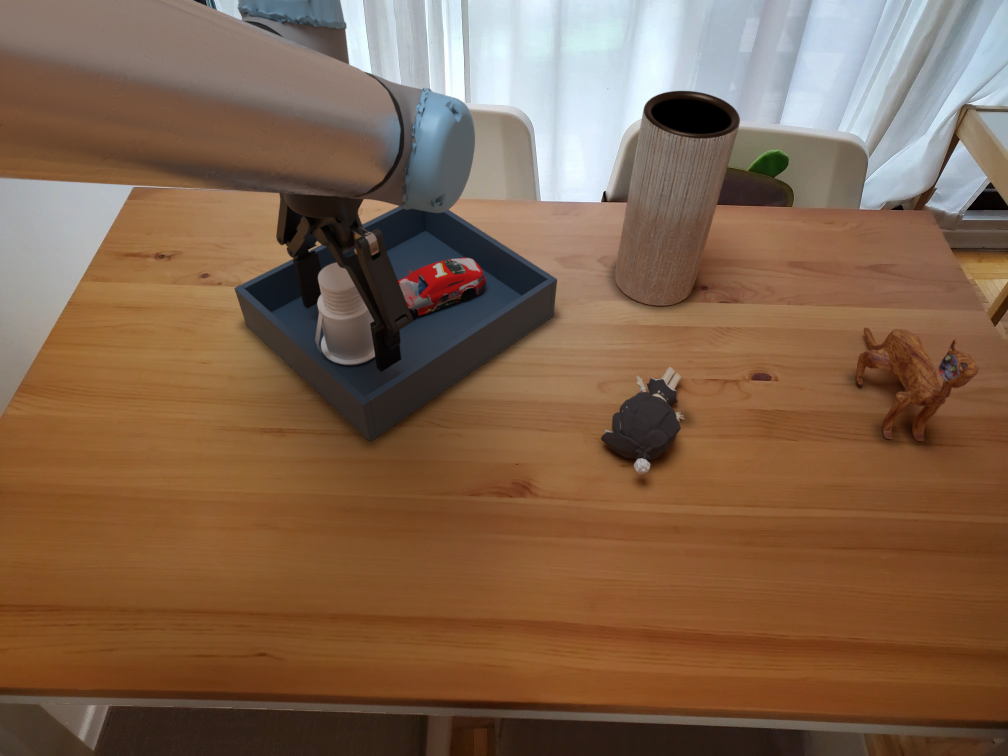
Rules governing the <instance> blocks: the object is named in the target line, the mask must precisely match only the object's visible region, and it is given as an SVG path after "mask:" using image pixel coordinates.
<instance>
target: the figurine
mask: <svg viewBox="0 0 1008 756" xmlns="http://www.w3.org/2000/svg"><path fill="white" fill-rule="evenodd" d="M634 378H635V379H636V381H635V382H634V383H635V384H636V385H637V386H638V387H639V388H640V392H637V393H636V394H635V395H633V396H632V397H630V398H627V399H625V400H624V402H623V403H622V404H621V405H620V406H619V411H617V412H615V413H613V415H612V419H611V422H612V423H611V430H612V431H611V430H608V429H605V430H604V434H602V436H601V437H600V439H601V441H602V442H603V443H604V444H605V445H606V446H607V447H609V448H610V449H611V450H612V451H614V453H616V454H618V455H619V456H620V457H623V458H625V459H631V460H636V461H634V463H633V468H634V470H635V472H636V473H637V474H640V476H641V475H645V474H647V473H648V472H649V471H650V470H651V469H650V468H651V463H650V462H649V461H653V460H656V459H658V458H659V457H660V456H661V454H663V453H665V452H667V451H668V450H669V449H670V448H671V445H672V443H674V442H675V440H676V438H677V434H678V433H679V432H680V431H681V429H682V428H681V424H680V421H681V420H683V421H684V420H685V418H684V415H685V414H681V413H682V412H681V411H678V412H676V411H675V409H674V408H673V407H672V405H674V404H677V403H679V400H678V398H677V396H678V391H677V389H676V388H677V386H678V385H679V382H680V381H681V379H682V376H681V375H680V374H679V373H678V372H676V370H675V369H674V368H673V367H671V366H669V367H668V368H666V369H665V371H664V372H663V375H662V376H661V377H660V378H657V379H656V378H654V377H650V379H649V382H647V383H646V386H647V388H646V387H645V384H644V381H643V378H642V377H640V376H639V375H637V376H636V375H635V377H634ZM647 390H648V391H647ZM680 419H681V420H680Z"/></svg>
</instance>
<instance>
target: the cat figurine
mask: <svg viewBox="0 0 1008 756" xmlns="http://www.w3.org/2000/svg"><path fill="white" fill-rule="evenodd" d="M863 334H864V337H865V339H866V341H867V344H868V347H869V348H870V349H868V350H865V351H864V352H862V353H860V354H859V355H858V358H857V364H856V374H855V375H856V376H855V380H856V382H857V384H858V385H859V386H861V387H862V386H863V385H864V381H863V377H864V374H865V371H866V367H867V368H869V369H870V370H872V369H874V370H875V369H884V370H887V371H888V372H891V373H892V374H894V376H896V378H897V379H898V380H899V381H900V383H901V385H902V386H903V389H904V391H898V392H896V394H895V400H894V403H893V405H892V406H891V408H890V409H889V410H888V411H887V413H886V414H885V416H884V418H883V421H882V426H881V429H882V436H883V438H884V439H886V440H893V439H894V437H893V431H892V430H893V426H894V423H895V421H896V419H897V417H898V416H899V415H900V414H901V413H903V412H904V410H905V408H906V407H907V406H908V405H910V404H912V405H916V406H918V407H919V406H920V407H923V408H922V409H921V410H919V412H918V413H917V415H916V417H915V418H914V420H913V422H912V426H911V431H912V433H911V434H912V436H913V439H914V440H915V441H917V442H924V441H925V428H926V425H927V422H928V421H929V420H930V418H931V417H933V416H934V415H935V414H936V413H937V411H939V409H940V407H942V405H945V403H946V402H947V398H949V397H950V395H951V393H952V389H959V388H961V387H964V386H965V385H967V384H968V383H969V382H970V381H971V380H972V379H974V377H975V376H977V375H978V373H979V371H980V369H979V366H978V364H977V362H976V361H975V359H974V358H973V356H972V355H970V354H968V353H966V352H964V351H961V350H959V349H957V339H956V338H954V339H953V340H952V342H951V343H950V346H949V348H948V351H947V353H946V354H945V355H944V356H943V358H942V359H941V361H940V364H939V365H938V368H937V370H938V373H939V374H940V375H939V377H942V378H941V380H943V381H942V385H941V383H940V381H939V379H938V375H937V371H936V369H935V366H934V363H933V362H932V360H931V357H930V356H929V354H928V353H927V350H926V349H925V348H924V346H923V342H922V341H921V338H920V336H919V335H917V334H915V333H913V332H912V331H909V330H906V329H900V328H895V329H892V331H891V332H889V334H888V335H887V336H886V338H885V339H884V341H882V343H881V344H879V343H878V342H877V341H876V339H875V337H874V335H873V332H872V331H871V329H870V328H868V327H864V328H863Z"/></svg>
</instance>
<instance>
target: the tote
mask: <svg viewBox="0 0 1008 756" xmlns="http://www.w3.org/2000/svg"><path fill="white" fill-rule="evenodd" d="M362 225H363V229H365V230H367V231H368V232H372V231H374V230H375V229H379V230H380V231H381V232H382V234H383V236H384V241H385V246H386V251H387V254H388V257H389V259H390V262H391V265H392V267H393V270H394V272H395V275H396V277H397V280H400V279H402V278H405V277H407V276H408V275H410V274H409V271H410V270H411V271H412V273H413V272H414V271H416V270H418V269H420V268H422V267H424V266H427V265H430V264H433V263H436V262H439V261H444V260H450V259H459V258H471V259H473V260H474V261H475V262H476V263H477V264H478V265H479V266H480V268H481V269H482V271H483V274H484V276H485V278H486V285H485V289H484V290H483V291H482V292H481V293H479V294H478V295H476V294H475V296H474V297H473V298H472V299H471V300H470V301H463V300H462V299H461V298H460V299H461V301H460V302H458V303H455V304H452V305H449V306H446V307H443V308H440V309H438V310H435V311H432V312H429V313H426V314H423V315H420V316H418V314H417V315H416V317H415V319H413V322H412V323H410V324H409V325H407V326H405V327H404V328H402V329H400V330H399V332H400V340H401V343H400V352H401V360H400V361H398V362H396V363H395V364H393V365H392V366H390V367H389V368H387V369H385V370H384V371H382V372H381V371H380V370H378V369H377V365H376V359H375V357H374V358H373V359H371V360H369V361H367V362H365V363H362V364H358V365H341V364H337V363H334V362H332V361H330V360H329V359H328V358H326V357H325V355H324V354H323V352H322V349H321V341H322V338H323V336H324V332H323V328H322V327H321V333H320V340H319V347H320V350H321V352H320V351H319V350H318V348H317V345H316V341H315V337H316V330H317V323H318V316H319V310H318V305H317V304H315V305H314V306H312V307H310V308H308V309H307V308H306V307H305V306H304V305H303V300H302V296H301V292H300V288H299V284H298V280H297V275H296V271H295V267H294V263H293V258H292V259H290V260H287V261H286V262H284V263H282V264H280V265H277V266H276V267H274V268H272V269H270V270H268V271H266V272H264V273H262V274H260V275H257V276H256V277H254V278H252V279H250V280H247V281H245V282H244V283H242V284H239V285H237V286H235V287H234V291H235V292H234V293H235V295H236V298H237V301H238V304H239V307H240V310H241V313H242V316H243V319H244V322H245V325H246V327H247V328H248V329H249V330H250V331H251V332H252V333H254V334H255V335H256V336H257V337H258V339H260V340H261V341H262V342H263V343H264V344H265V345H266V346H268V347H269V348H270V349H271V350H272V351H273V352H274V353H275V354H276V355H277V356H278V357H279V358H280V359H281V360H282V361H283V362H285V364H287V366H288V367H289V368H291V369H292V370H293V371H294V372H295V373H296V374H297V375H298V376H299V377H300V378H302V380H304V382H306V383H307V384H308V385H309V386H310V387H311V388H312V389H313V390H314V391H315V392H316V393H317V394H318V395H319V396H321V397H322V398H323V399H324V400H325V401H326V402H327V403H328V404H329V405H330V406H331V407H332V408H333V409H334V410H335V411H336V412H338V413H339V414H340V415H341V416H342V417H343V418H344V419H345V420H346V421H347V422H348V423H349V424H351V426H352V427H353V428H355V429H356V430H357V431H358V432H359V433H360V434H361V435H362V436H363V437H364V438H365V439H366V440H367V441H368V442H369V443H371V442H372V441H374V440H375V439H377V438H378V437H379V436H381V435H383V434H384V433H386V432H387V431H388V430H390V429H391V428H392V427H394V426H395V425H397V424H398V423H400V422H402V421H403V420H404V419H406V418H407V417H409V416H410V415H412V414H413V413H414V412H416V411H417V410H419V409H420V408H422V407H423V406H425V405H426V404H427V403H429V402H431V401H432V400H434V398H437V397H438V396H439V395H441V394H442V393H444V392H445V391H447V390H448V389H449V388H451V387H453V386H454V385H455V384H457V383H459V382H460V381H461V380H463V379H464V378H466V377H467V376H469V375H470V374H472V373H473V372H474V371H476V370H478V369H479V368H481V367H482V366H484V364H486V363H488V362H489V361H491V360H492V359H493V358H496V356H497V355H499V354H501V353H502V352H504V351H505V350H507V349H508V348H509V347H511V346H513V345H514V344H515V343H517V342H518V341H520V340H521V339H523V338H524V337H526V336H527V335H529V334H530V333H532V332H533V331H534V330H536V329H537V328H539V327H541V326H542V325H543V324H545V323H546V322H547V321H549V320H551V319H552V318H553V317H554V315H555V306H556V295H557V286H558V278H556V277H554V275H551V274H550V273H548V272H547V271H545V270H544V269H542V268H540V267H539V266H538V265H536V264H535V263H533V262H532V261H530V260H528V259H526V258H525V257H523V256H522V255H520V254H519V253H518V252H515V251H514V250H512V248H510V247H508V246H506V245H505V244H503V243H501V242H500V241H499V240H497V239H495V238H494V237H492V236H491V235H490V234H487V233H486V232H484V231H483V230H482V229H480V228H479V227H477V226H475V225H473V224H472V223H470V222H468V221H467V220H466V219H464V218H462V217H461V216H459V215H458V214H456V213H455V212H453V211H452V210H450V209H448V210H447V211H445V212H442V213H432V212H427V211H422V210H416V209H409V210H406V209H403V208H402V207H401V206H398V205H397V207H395V208H393V209H390V210H388V211H387V212H385V213H383V214H380V215H378V216H376V217H373V218H372V219H370V220H368V221H366V222H364V223H362ZM355 248H356V247H354V248H353V249H352V250H350V251H348V252H346V253H344V256H345V257H349V256H351V255H353V254H355V252H354V249H355ZM313 250H314V251H316V252H317V253H318V256H319V261H320V266H321V270H322V269H323V268H324V267H326V266H328V265H330V264H333V263H337V262H336V260H335V258H334V256H333V254H332V253H331V251H330V250H329V249H328V248H327V247H326V246H324V245H322V244H320V245H317V246H315V247H313V248H311V249H309V250H308V251H309V252H311V251H313Z"/></svg>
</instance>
